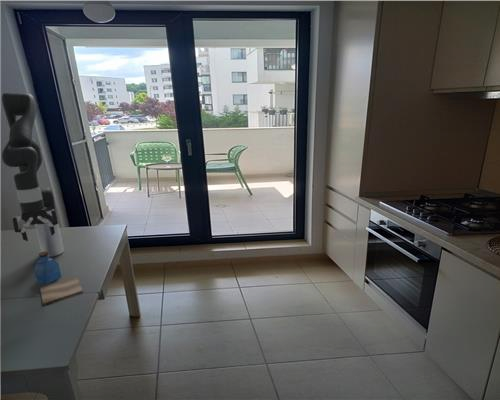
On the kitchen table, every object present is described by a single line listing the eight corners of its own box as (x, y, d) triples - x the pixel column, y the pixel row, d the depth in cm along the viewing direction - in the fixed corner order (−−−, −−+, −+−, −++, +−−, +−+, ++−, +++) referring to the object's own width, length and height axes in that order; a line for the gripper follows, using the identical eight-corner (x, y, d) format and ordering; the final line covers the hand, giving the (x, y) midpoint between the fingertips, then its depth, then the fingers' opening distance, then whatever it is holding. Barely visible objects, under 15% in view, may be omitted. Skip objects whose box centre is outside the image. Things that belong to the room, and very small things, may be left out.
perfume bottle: (61, 276, 127) (55, 251, 123) (47, 284, 121) (41, 257, 118) (50, 274, 129) (45, 249, 125) (36, 281, 123) (30, 255, 120)
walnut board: (40, 289, 118) (40, 287, 117) (77, 278, 125) (77, 276, 125) (43, 305, 108) (42, 303, 107) (83, 292, 115) (82, 290, 115)
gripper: (51, 194, 122) (59, 230, 126) (7, 200, 113) (17, 239, 118) (53, 197, 116) (61, 236, 121) (7, 205, 108) (18, 245, 112)
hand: (39, 237), depth 119 cm, fingers open, 8 cm apart
